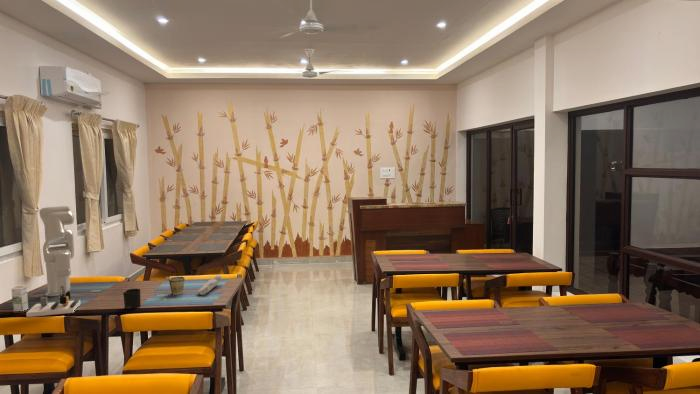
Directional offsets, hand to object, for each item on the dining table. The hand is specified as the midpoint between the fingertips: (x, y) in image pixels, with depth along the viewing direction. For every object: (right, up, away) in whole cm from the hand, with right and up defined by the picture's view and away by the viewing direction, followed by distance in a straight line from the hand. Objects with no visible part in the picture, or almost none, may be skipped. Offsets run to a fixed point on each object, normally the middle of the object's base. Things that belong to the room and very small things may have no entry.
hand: (65, 301), depth 300 cm
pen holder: (+39, -4, +2) cm, 39 cm away
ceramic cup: (+56, -1, +32) cm, 65 cm away
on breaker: (-12, -2, 0) cm, 13 cm away
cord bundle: (0, -2, 0) cm, 2 cm away
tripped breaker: (0, -2, 0) cm, 2 cm away
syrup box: (-25, -6, -1) cm, 26 cm away
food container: (+74, -1, +38) cm, 83 cm away
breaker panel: (-6, -5, -1) cm, 8 cm away
